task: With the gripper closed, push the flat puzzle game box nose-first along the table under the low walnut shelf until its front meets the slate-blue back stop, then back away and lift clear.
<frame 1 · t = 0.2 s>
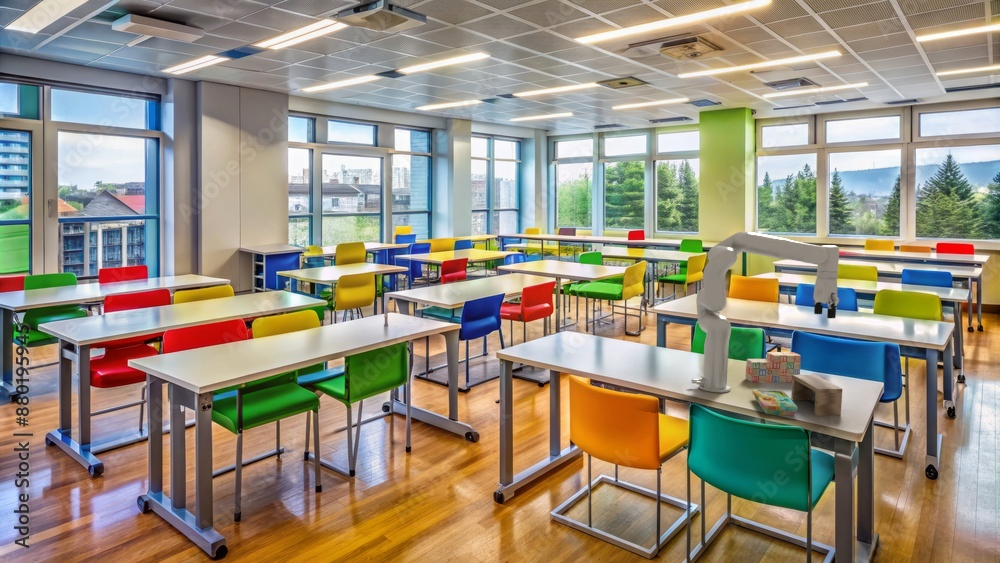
hand: (824, 316, 251), 31 cm above the table, tool pointing down, fingers open, 9 cm apart
stack of blocks: (772, 381, 267), on the table
low shelf: (814, 406, 231), on the table
puzzle game: (773, 408, 231), on the table
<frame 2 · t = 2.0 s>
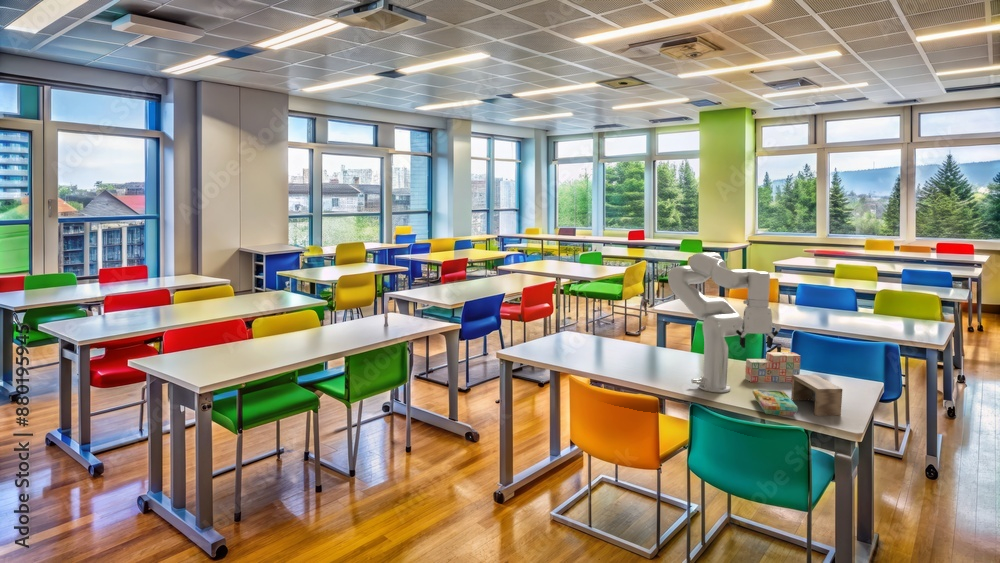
hand: (755, 347, 233), 22 cm above the table, tool pointing down, fingers open, 9 cm apart
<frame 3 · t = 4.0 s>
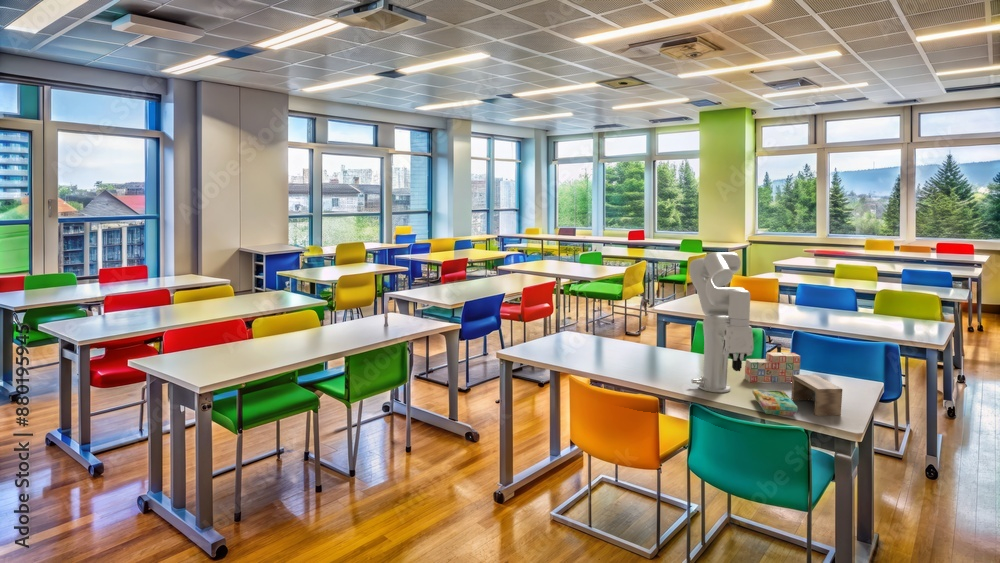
hand: (736, 370, 228), 15 cm above the table, tool pointing down, fingers closed
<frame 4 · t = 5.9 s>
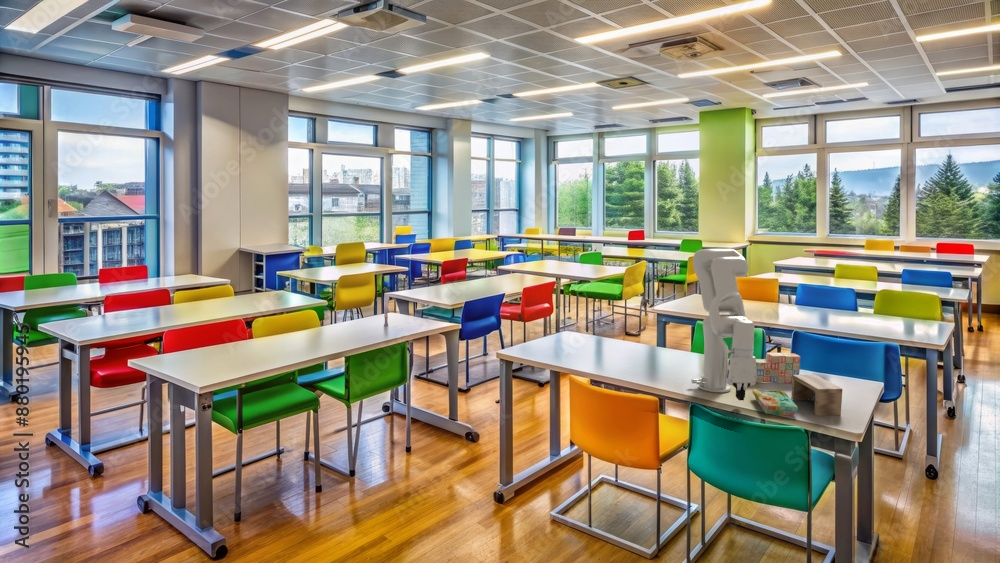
hand: (740, 399, 230), 3 cm above the table, tool pointing down, fingers closed
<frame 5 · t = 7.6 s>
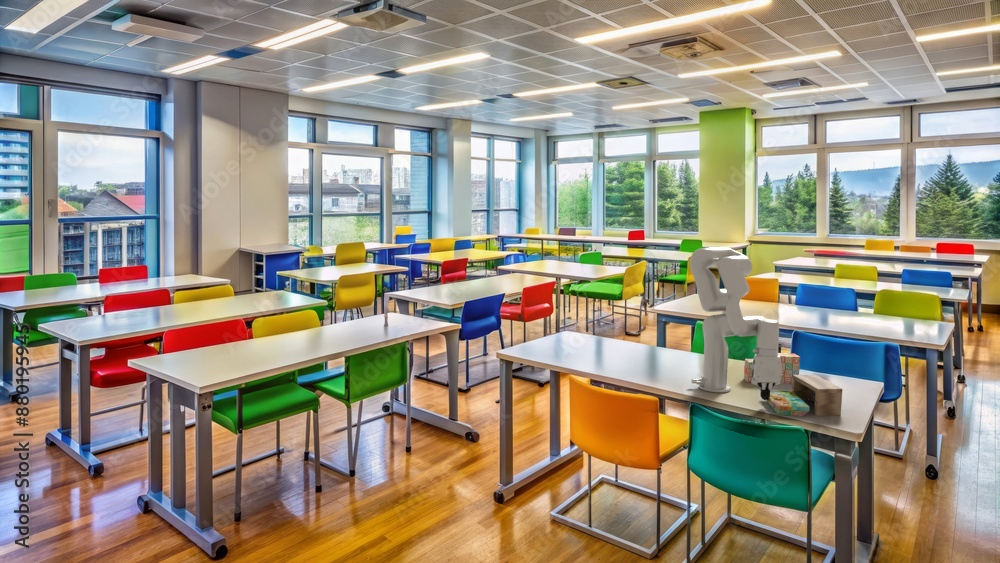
hand: (764, 399, 230), 3 cm above the table, tool pointing down, fingers closed
puzzle game: (784, 408, 231), on the table, touching gripper
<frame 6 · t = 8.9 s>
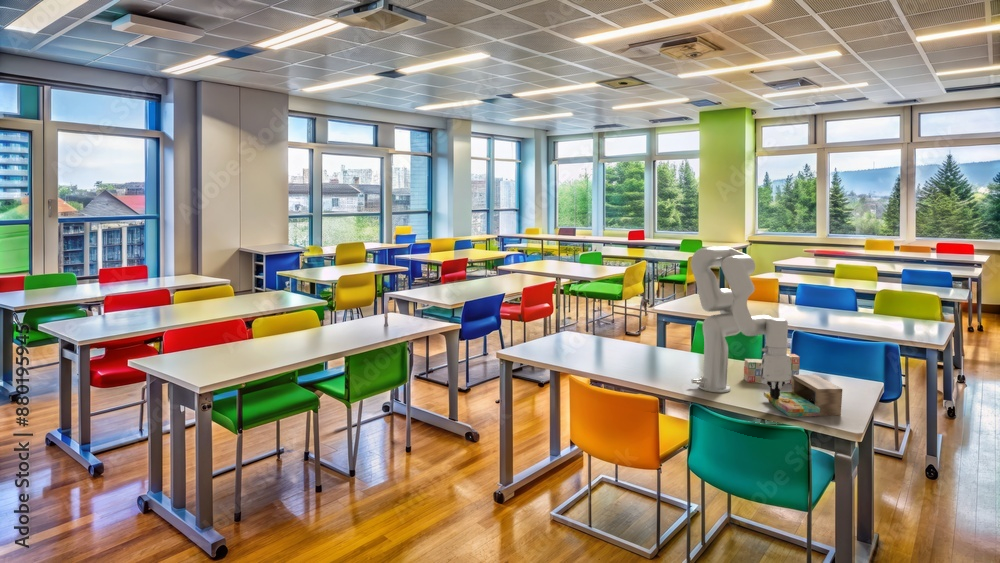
hand: (774, 398, 229), 4 cm above the table, tool pointing down, fingers closed
puzzle game: (790, 410, 229), on the table, touching gripper
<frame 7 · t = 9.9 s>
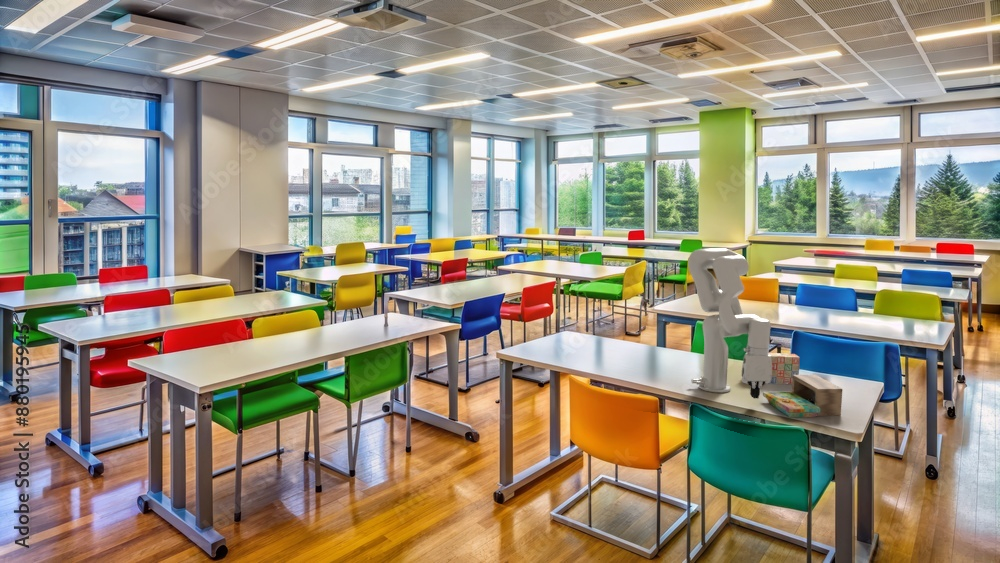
hand: (754, 397, 231), 4 cm above the table, tool pointing down, fingers closed
puzzle game: (789, 410, 229), on the table
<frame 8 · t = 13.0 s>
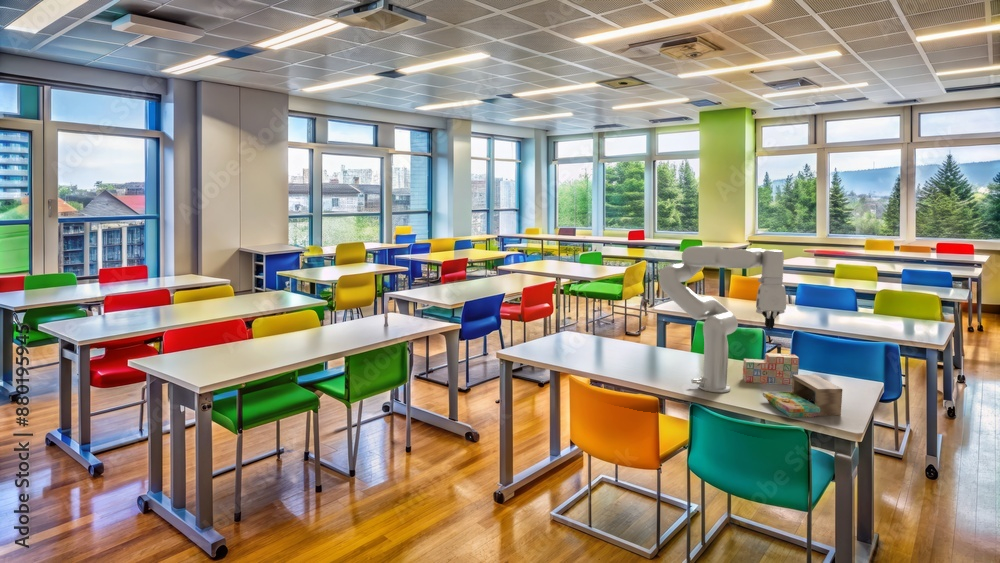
hand: (769, 327, 236), 29 cm above the table, tool pointing down, fingers closed
at the end: puzzle game 2.3 cm from the target spot on the table beside the low shelf, on the table; puzzle game tilted 0° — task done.
